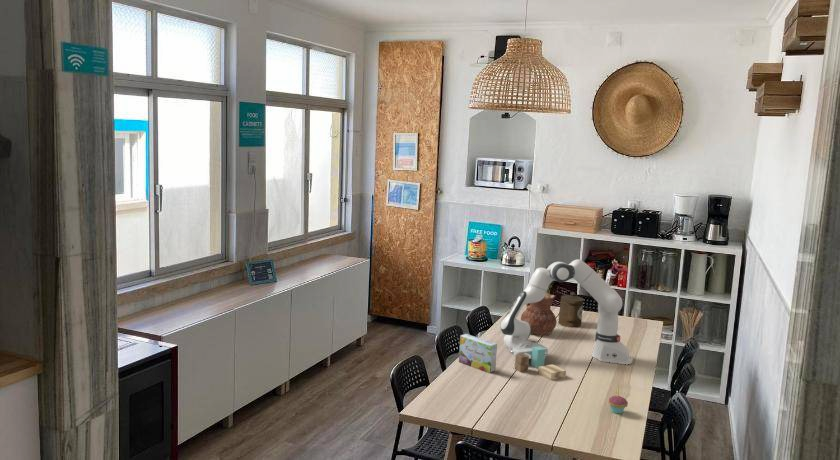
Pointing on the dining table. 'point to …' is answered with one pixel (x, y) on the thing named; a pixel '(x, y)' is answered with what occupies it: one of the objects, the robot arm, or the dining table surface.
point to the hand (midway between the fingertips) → (538, 356)
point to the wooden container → (570, 310)
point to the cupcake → (617, 403)
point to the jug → (540, 316)
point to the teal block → (538, 356)
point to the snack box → (478, 353)
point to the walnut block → (521, 362)
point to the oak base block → (552, 372)
